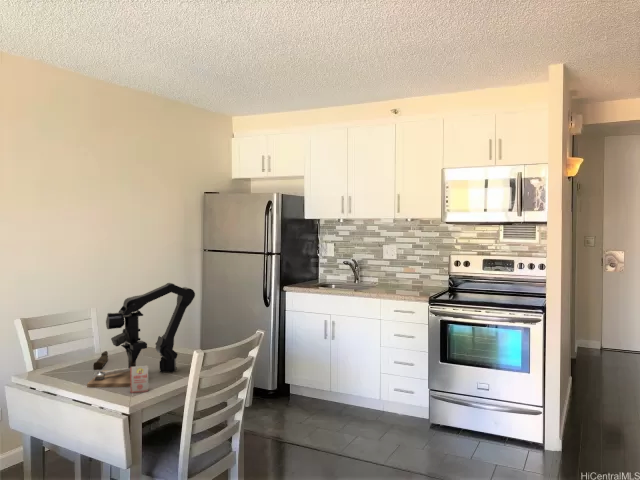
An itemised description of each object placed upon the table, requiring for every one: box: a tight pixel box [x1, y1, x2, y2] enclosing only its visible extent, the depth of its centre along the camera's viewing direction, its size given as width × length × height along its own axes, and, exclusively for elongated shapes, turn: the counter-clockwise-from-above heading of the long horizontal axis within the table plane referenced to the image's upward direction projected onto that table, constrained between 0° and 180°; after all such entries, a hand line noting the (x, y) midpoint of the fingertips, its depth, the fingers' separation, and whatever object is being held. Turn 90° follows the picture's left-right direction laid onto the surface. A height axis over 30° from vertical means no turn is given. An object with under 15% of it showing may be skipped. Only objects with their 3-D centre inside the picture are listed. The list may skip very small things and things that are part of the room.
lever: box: [92, 351, 137, 378], centre depth 231 cm, size 18×4×8 cm, turn 131°
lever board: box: [86, 369, 131, 388], centre depth 231 cm, size 20×19×3 cm
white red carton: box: [129, 365, 149, 394], centre depth 217 cm, size 4×7×10 cm, turn 108°
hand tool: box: [92, 350, 109, 371], centre depth 255 cm, size 19×4×5 cm, turn 8°
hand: (132, 361), depth 236 cm, fingers closed on lever, 3 cm apart
